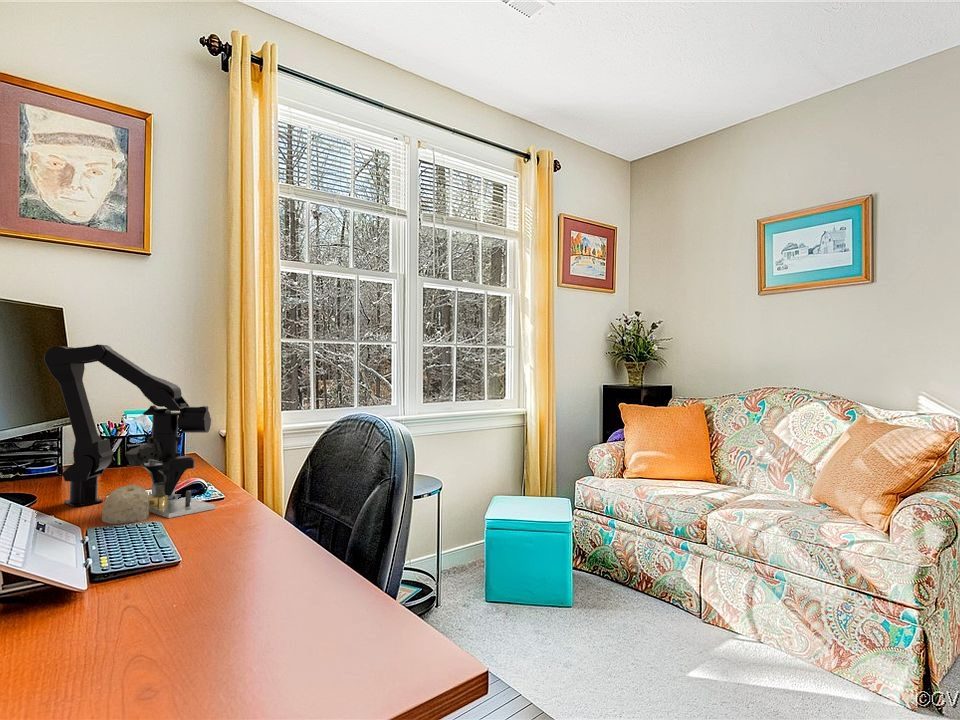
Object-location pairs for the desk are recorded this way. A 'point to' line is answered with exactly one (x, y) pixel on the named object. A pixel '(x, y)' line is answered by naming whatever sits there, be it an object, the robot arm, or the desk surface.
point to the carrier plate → (177, 505)
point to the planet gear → (163, 491)
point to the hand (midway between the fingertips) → (163, 494)
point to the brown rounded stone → (126, 505)
